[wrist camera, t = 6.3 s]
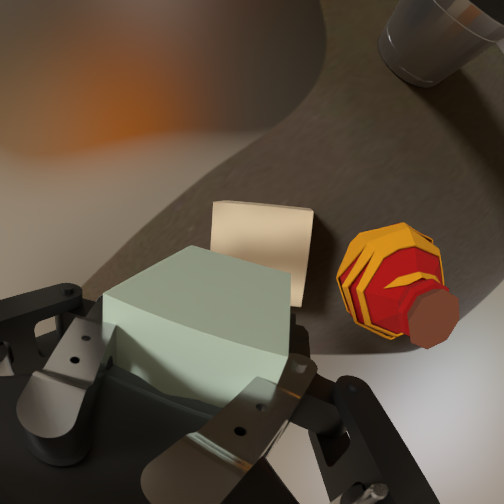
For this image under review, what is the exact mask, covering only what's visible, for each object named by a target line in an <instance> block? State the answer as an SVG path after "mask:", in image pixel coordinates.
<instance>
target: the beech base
mask: <svg viewBox="0 0 504 504" xmlns="http://www.w3.org/2000/svg"><path fill="white" fill-rule="evenodd" d="M313 213H314V211H313V210H311V209H310V208H301V207H292V206H282V205H272V204H262V203H251V202H239V201H217V202H213V216H212V233H211V251H213V252H217V253H220V254H224V255H227V256H231V257H234V258H238V259H241V260H245V261H248V262H252V263H255V264H259V265H262V266H266V267H269V268H273V269H277V270H280V271H284V272H287V273H291V299H290V306H297V307H301V305H302V298H303V292H304V285H305V278H306V271H307V263H308V256H309V248H310V240H311V231H312V223H313Z"/></svg>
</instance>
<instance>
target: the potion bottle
mask: <svg viewBox="0 0 504 504" xmlns="http://www.w3.org/2000/svg"><path fill="white" fill-rule="evenodd" d="M419 234H420V235H421V236H420V235H419ZM422 236H423V237H425V238H426V239H425V238H423V237H422ZM336 279H337V282H338V285H339V288H340V291H341V294H342V297H343V300H344V303H345V306H346V310H347V312H349V313H350V315H351V316H352V317H353V319H354V322H355V324H357V325H359V326H362V327H364V328H366V329H368V330H370V331H372V332H374V333H376V334H378V335H380V336H382V337H384V338H386V339H390V340H391V339H394V338H396V337H399V336H401V335H403V334H405V335H408V336H410V339H411V343H413V344H416V345H418V346H420V347H423V348H425V349H429V348H431V347H433V346H435V345H437V344H439V343H441V342H443V341H445V340H447V338H448V337H449V335H450V334H451V332H452V331H453V329H454V327H455V326H456V324H457V322H458V321H459V301H458V298H457V297H456V296H454V295H452V294H451V293H449V288H447V287H446V286H444V277H443V269H442V262H441V256H440V251H439V248H437V247H436V246H434V245H433V239H431V238H429V237H427V236H425V235H423V234H421V233H419V232H418V231H416V230H415V229H413V228H412V227H410V226H409V225H407V224H405V223H404V222H403V223H397V224H393V225H390V226H387V227H383V228H379V229H374V230H370V231H366V232H361V233H359V234H358V235H357V236H356V237H355V238H354V239H353V240H352V241H351V242H350V244H349V247H348V249H347V252H346V254H345V256H344V259H343V261H342V263H341V265H340V268H339V270H338V272H337V277H336ZM341 283H342V284H341ZM358 322H359V323H358ZM365 325H366V326H365ZM367 326H368V327H367ZM369 327H370V328H369ZM371 328H372V329H371ZM373 329H375V330H377V331H379V332H382V333H384V334H386V335H389V336H386V335H384V334H382V333H379V332H377V331H375V330H373Z"/></svg>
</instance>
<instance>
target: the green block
mask: <svg viewBox="0 0 504 504" xmlns="http://www.w3.org/2000/svg"><path fill="white" fill-rule="evenodd" d="M290 299H291V273H287V272H284V271H280V270H277V269H273V268H269V267H266V266H262V265H259V264H255V263H252V262H248V261H245V260H241V259H238V258H234V257H231V256H227V255H224V254H220V253H217V252H213V251H210V250H206V249H203V248H199V247H196V246H192V245H191V246H189V247H187V248H185V249H183V250H181V251H179V252H177V253H175V254H174V255H172V256H170V257H168V258H166V259H164V260H162V261H160V262H159V263H157V264H155V265H153V266H151V267H149V268H148V269H146V270H144V271H142V272H140V273H138V274H137V275H135V276H133V277H131V278H129V279H128V280H126V281H124V282H122V283H120V284H119V285H117V286H115V287H113V288H111V289H110V290H108V291H106V292H104V293H103V322H107V323H111V324H115V325H116V352H117V366H118V367H120V368H122V369H125V370H127V371H129V372H131V373H133V374H135V375H137V376H139V377H141V378H142V379H143V380H145V381H146V382H148V383H149V384H150V385H152V386H153V387H155V388H156V389H158V390H159V391H161V392H162V393H165V394H168V395H173V396H179V397H184V398H190V399H196V400H200V401H202V402H205V403H208V404H212V405H215V406H218V407H221V408H224V407H225V406H226V405H227V404H228V403H229V402H230V401H231V400H232V399H234V398H235V397H236V396H237V395H238V394H239V393H240V392H241V391H242V390H243V389H244V388H245V387H246V386H247V385H248V384H249V383H250V382H251V381H252V380H253V379H254V378H255V377H257V376H258V377H261V378H263V379H265V380H267V381H269V382H271V383H273V384H275V385H277V383H278V381H279V379H280V376H281V374H282V371H283V369H284V366H285V364H286V361H287V359H288V352H289V329H290Z"/></svg>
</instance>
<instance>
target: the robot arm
mask: <svg viewBox="0 0 504 504" xmlns="http://www.w3.org/2000/svg"><path fill="white" fill-rule="evenodd" d="M503 38H504V0H400V1H399V3H398V4H397V6H396V8H395V10H394V12H393V14H392V15H391V17H390V19H389V21H388V22H387V24H386V26H385V28H384V30H383V32H382V34H381V36H380V38H379V42H378V45H379V51H380V54H381V56H382V58H383V60H384V61H385V63H386V64H387V65H388V67H389V68H390V69H391V70H392V71H393V72H394V73H395V74H396V75H397V76H399V77H400V78H401V79H403V80H404V81H406V82H408V83H410V84H412V85H415V86H418V87H424V88H425V87H432V86H435V85H437V84H438V83H439V82H441V81H442V80H444V79H445V78H447V77H448V76H449V75H451V74H453V73H454V72H455V71H457V70H458V69H460V68H461V67H463V66H464V65H465V64H467V63H468V62H470V61H471V60H473V59H474V58H476V57H477V56H478V55H480V54H481V53H483V52H484V51H486V50H487V49H489V48H490V47H492V46H493V45H495V44H496V43H498V42H499V41H500V40H502V39H503ZM53 316H55V323H56V330H54V331H52V332H49V333H47V334H44V335H41V336H39V337H36V338H35V333H34V328H35V325H36V324H37V323H38V322H39V321H42V320H45V319H48V318H50V317H53ZM317 369H318V368H317V365H316V364H315V362H313V360H311V359H310V347H309V336H308V332H307V330H306V329H305V328H304V326H300V325H296V315H295V314H294V313H290V329H289V352H288V359H287V361H286V364H285V366H284V369H283V371H282V374H281V376H280V379H279V381H278V383H277V385H275V384H273V383H271V382H269V381H267V380H265V379H263V378H261V377H258V376H257V377H255V378H254V379H253V380H252V381H251V382H250V383H249V384H248V385H247V386H246V387H245V388H244V389H243V390H242V391H241V392H240V393H239V394H238V395H237V396H236V397H235V398H234V399H232V400H231V401H230V402H229V403H228V404H227V405H226V406H225V407H224V408H221V407H218V406H215V405H212V404H208V403H205V402H202V401H200V400H196V399H190V398H184V397H179V396H173V395H168V394H165V393H162V392H161V391H159V390H158V389H156V388H155V387H153V386H152V385H150V384H149V383H148V382H146V381H145V380H143V379H142V378H141V377H139V376H137V375H135V374H133V373H131V372H129V371H127V370H125V369H122V368H120V367H118V366H117V352H116V325H115V324H111V323H107V322H103V295H102V296H100V297H99V298H98V299H97V301H96V302H95V301H91V300H87V299H83V298H82V289H81V287H79V286H78V285H75V284H71V283H61V284H57V285H53V286H50V287H46V288H42V289H39V290H35V291H31V292H27V293H24V294H20V295H16V296H13V297H9V298H6V299H2V300H0V504H299V502H298V501H297V500H296V499H295V497H294V496H293V495H292V493H291V492H290V491H289V490H288V488H287V487H286V486H285V484H284V483H283V482H282V480H281V479H280V477H279V476H278V475H277V474H276V472H275V471H274V469H273V468H272V466H271V465H270V464H269V462H268V461H267V459H266V458H267V457H268V455H269V454H270V452H271V451H272V449H273V448H274V446H275V445H276V443H277V442H278V440H279V439H280V438H281V436H282V435H283V433H284V432H285V430H286V428H287V427H288V425H289V424H290V422H292V423H294V424H296V425H299V426H301V427H303V428H305V429H308V433H309V437H310V440H311V444H312V446H313V450H314V453H315V456H316V459H317V462H318V465H319V469H320V472H321V475H322V478H323V481H324V484H325V487H326V490H327V493H328V496H329V500H330V504H440V503H439V501H438V499H437V497H436V495H435V494H434V492H433V490H432V488H431V487H430V485H429V483H428V482H427V480H426V478H425V476H424V475H423V473H422V471H421V470H420V468H419V466H418V465H417V463H416V461H415V459H414V458H413V456H412V455H411V453H410V451H409V450H408V448H407V446H406V445H405V443H404V441H403V440H402V438H401V436H400V435H399V433H398V431H397V430H396V428H395V427H394V425H393V423H392V422H391V420H390V419H389V417H388V415H387V414H386V412H385V411H384V409H383V407H382V406H381V404H380V403H379V401H378V400H377V398H376V396H375V395H374V394H373V392H372V390H371V388H370V387H369V385H368V384H367V383H366V382H364V381H363V380H361V379H359V378H357V377H354V376H348V375H346V376H341V377H339V378H338V380H337V381H336V383H335V382H333V381H331V380H328V379H326V378H324V377H322V376H320V375H319V374H317ZM32 373H33V374H32ZM346 431H348V434H349V436H350V438H349V436H348V434H347V432H346Z"/></svg>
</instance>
